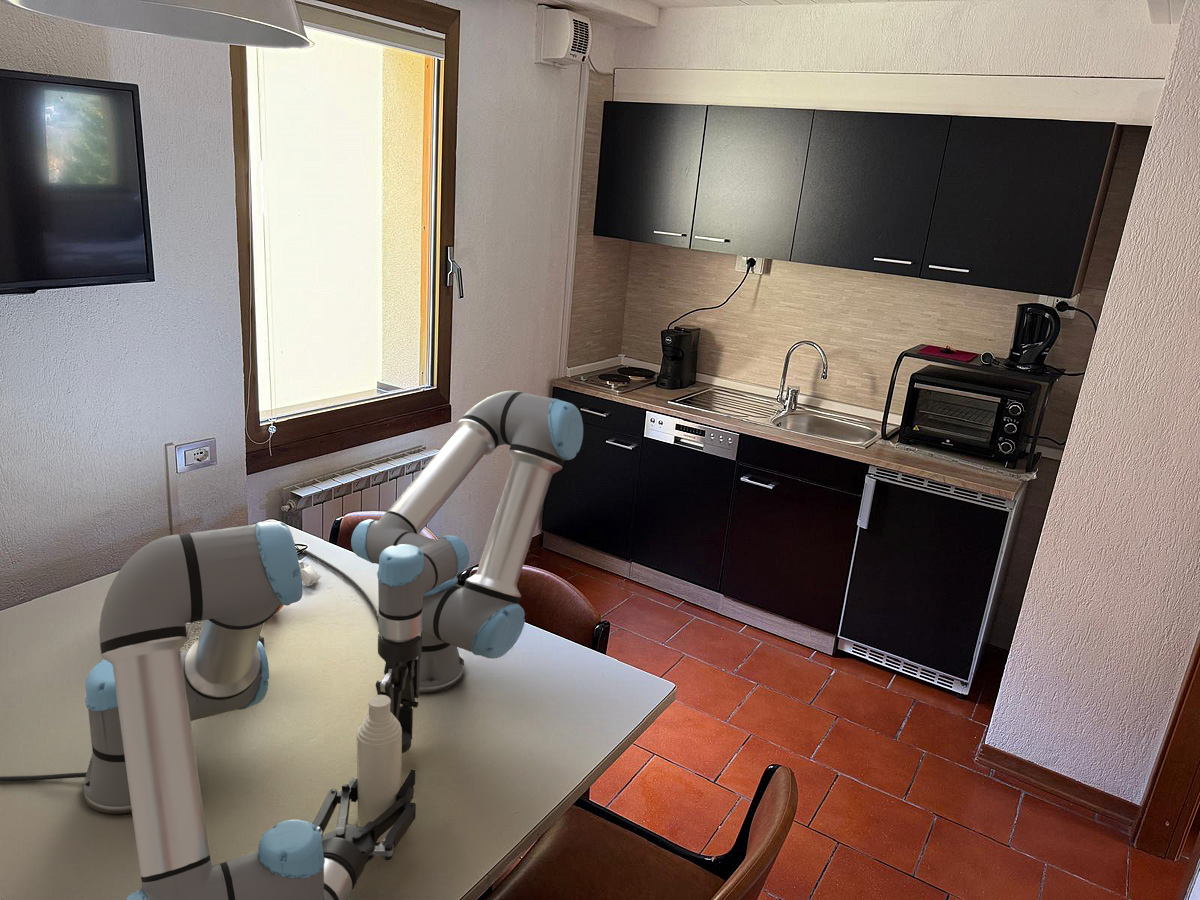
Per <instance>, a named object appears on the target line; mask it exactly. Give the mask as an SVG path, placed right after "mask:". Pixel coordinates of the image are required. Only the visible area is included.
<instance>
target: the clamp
mask: <svg viewBox="0 0 1200 900" xmlns="http://www.w3.org/2000/svg"><path fill="white" fill-rule="evenodd" d="M298 560H299V559H298ZM299 565H300V571H301V578H302V583H303V585H305V587H309V586H312V585H314V584H316V583H318V582H319V580H320V579H321V578H322V577H321V575H320V574H319V573H318V572H317V570H315V569H314V568H313V566H312V565H310V564H309V565H308V564H307V563H305V562H304V561H303V560H301V559H300V560H299ZM305 566H306V567H305Z"/></svg>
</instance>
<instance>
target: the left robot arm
mask: <svg viewBox="0 0 1200 900" xmlns="http://www.w3.org/2000/svg"><path fill="white" fill-rule="evenodd" d="M295 544H296V543H295V541H294V536H293V533H292V532H291V529H290V527H289V526H288V525H287V524H286V523H284V522H282V521H268V522H263V521H258V522H256V523H255V524H254V523H253V524H247V525H241V526H231V527H225V528H224V527H223V528H218V529H211V530H203V531H196V532H188V533H181V534H178V533H177V534H171V535H166V536H162V537H159V538H157V539H154V540H152V541H150V542H149V543H146V544H145V545H144V546H142V547H141V548H140V549H139V550H137V551H136V552H135V553H134V554H133V555H132V556H130V557H129V558H128V560H126V562H125V563H124V564H123V566H122V567H121V568H120V570H119V571H118V572H117V574H116V576H115V578H114V579H113V580H112V582H111V584H110V587H109V589H108V591H107V592H106V593H107V594H106V596H105V599H104V602H103V606H102V610H101V613H100V619H99V629H98V634H99V647H100V654H101V661H99V663H97V664H95V666H94V667H93V668H92V669H91V670H90V671H89V673H88V675H87V677H86V681H85V697H84V698H85V699H84V703H85V704H84V705H85V707H86V709H87V710H88V722H89V731H90V732H89V733H90V743H91V748H92V749H91V750H92V754H91V756H90V760H89V764H88V766H87V771H85V772H68V773H66V772H65V773H55V774H54V773H53V774H41V775H40V774H39V775H10V776H9V775H8V776H6V775H5V776H4V775H3V776H2V775H1V776H0V782H29V781H30V782H31V781H47V780H61V779H77V778H84V781H83V795H84V801H85V802H86V804H87V805H88V806H89V807H90V808H91V809H92V810H94V811H96V812H99V813H102V814H109V815H126V814H131V815H132V822H133V823H132V824H133V830H134V837H135V838H134V839H135V844H136V845H135V846H136V852H137V853H136V854H137V861H138V867H139V876H140V881H141V882H140V883H141V884H140V885H141V886H140V889H137V891H134V892H132V893H130V894H129V895H128V896H126V898H125V900H348V898H349V897H350V895H351V893H352V891H353V889H354V888H355V886H356V884H357V883H358V881H359V879H360V877H361V875H362V874H363V872H364V869H365V868H366V865H367V864H368V862H370V861H371V860H372V859H374V857H383V859H384V861H386V862H389V861H392V860H393V858H394V852H395V849H396V848H397V846H398V845H399V843H400V842H401V841H402V839H403V837H404V836H405V835H406V833H407V832H408V830H409V829H410V827H411V826H412V825H413V823H414V821H415V820H416V818H417V804H416V803H415V802H412V801H413V799H414V797H415V794H414V793H415V785H416V769H413V768H412V769H410V771H409V772H408V774H407V776H406V777H405V778H404V781H403V783H401V788H400V790H399V792H398V793H397V795H396V802H395V803H394V804H393V805H392V806H391V807H389V808H388V809H387V810H386V811H385V812H384V813H382V814H381V815H380V816H379V817H378V818H376V819H375V820H374V821H373V822H372V821H370V822H368V823H367V824H366V825H365V826H364V827H362V826H358V825H357V826H356V825H354V824H350V823H349V814H350V804H351V802H352V803H356V802H358V801H357V777H354V776H353V777H352V778H350V780H349V782H348V783H344V784H342V785H341V790H337V789H336V788H331V789H330V790H329V791H328V793H327V794H326V797H325V799H324V801H323V803H322V804H321V807H320V808H319V811H318V813H317V814H316V816H315V818H314V820H313V822H310V821H308V820H306V819H305V820H304V819H298V818H295V819H294V818H291V819H287V820H283V821H280V822H278V823H275V824H274V825H273V826H272V828H270V829H267V830H265V832H264V833H263V835H262V836H261V838H260V840H259V843H258V848H257V850H256V851H253V852H250V853H248V854H244V855H241V856H238V857H236V858H233V859H230V860H226V861H224V862H219V863H218V864H215V865H213V864H212V860H211V854H210V853H211V852H210V846H209V839H208V838H209V837H208V832H207V825H206V818H205V811H204V803H203V797H202V791H201V784H200V777H199V770H198V762H197V757H196V749H195V743H194V737H193V729H192V723H191V722H192V721H196V720H200V719H204V718H205V719H206V718H209V717H213V716H217V715H221V714H224V713H229V712H234V711H237V710H239V711H240V710H246V709H247V708H249V707H252V706H255V705H257V704H259V703H261V702H262V701H263V700H264V699H265V697H266V695H267V693H268V689H269V679H270V668H269V661H268V656H267V651H266V649H265V646H264V647H263V645H262V643H261V642H260V641H259V637H260V636H261V633H262V631H263V627H264V624H266V623H267V622H268V621H269V620H271V619H272V618H273V617H274V616H275V615H276V614H277V613H278V612H277V610H278V609H279V607H280V605H284V606H285V607H287V606H290V605H291V604H295V603H298V602H299V601H300V600H301V599H302V597H303V595H304V593H303V592H304V589H303V581H302V578H301V571H300V565H299V556H298V551H297V548H296V547H295ZM276 612H277V613H276ZM275 613H276V614H275ZM196 622H201V625H200V631H199V637H198V638H197V639H196V640H195V641H194V642H193V643H192V644H191V645H190V647H189V649H188V650H183V651H181V650H182V648H183V647H184V645H185V644H186V642H188V634H187V627H186V625H187V624H188V623H189V624H190V623H191V624H192V623H196ZM338 804H339V811H338V817H337V823H336V828H335V829H332V830H331V831H329V832H327V833H325V834H324V832H325V831H326V828H327V827H328V825H329V823H330V820H331V819H332V816H333V814H334V812H335V810H336V808H337V806H338ZM392 826H393V827H392ZM391 827H392V828H391ZM389 828H391V829H390V831H389V832H388V834H387V836H386V839H385V838H383V839H382V842H380V843H379V844H377V843H376V842H377V840H378V838H379V837H380V836H381V835H383V834H384V833H385V832H386V831H387V830H388V829H389ZM376 844H377V845H376Z"/></svg>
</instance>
